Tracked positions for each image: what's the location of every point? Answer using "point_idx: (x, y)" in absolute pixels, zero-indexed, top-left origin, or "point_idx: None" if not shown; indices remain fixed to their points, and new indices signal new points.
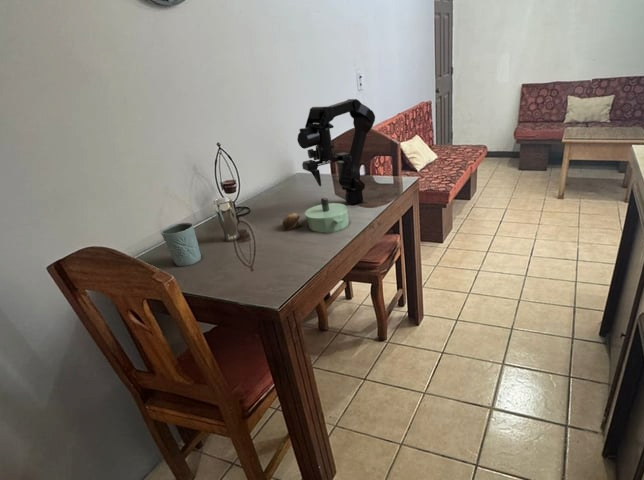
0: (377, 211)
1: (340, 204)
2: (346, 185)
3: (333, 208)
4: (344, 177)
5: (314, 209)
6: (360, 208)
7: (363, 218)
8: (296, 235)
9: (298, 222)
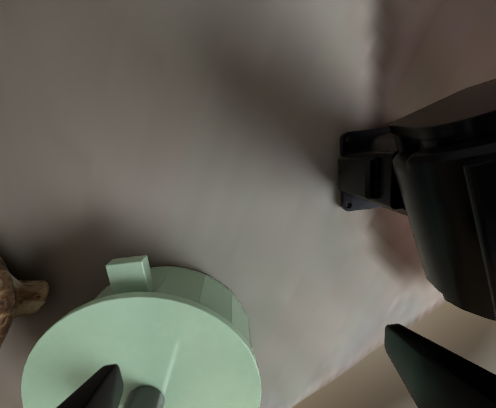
0: (386, 321)
1: (245, 365)
2: (414, 237)
3: (190, 396)
4: (488, 267)
5: (88, 351)
6: (357, 246)
7: (307, 353)
8: (21, 358)
9: (22, 312)
